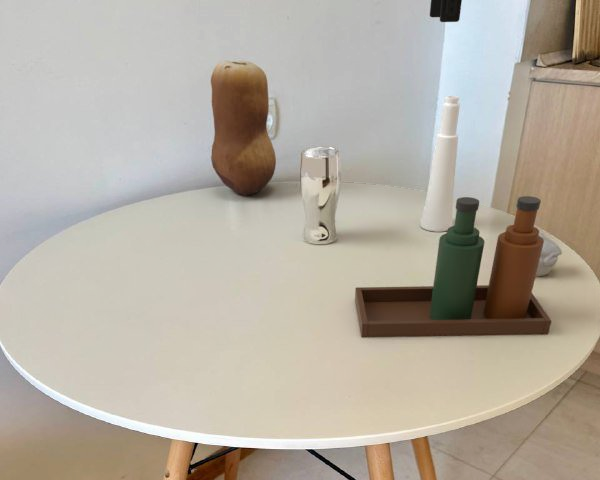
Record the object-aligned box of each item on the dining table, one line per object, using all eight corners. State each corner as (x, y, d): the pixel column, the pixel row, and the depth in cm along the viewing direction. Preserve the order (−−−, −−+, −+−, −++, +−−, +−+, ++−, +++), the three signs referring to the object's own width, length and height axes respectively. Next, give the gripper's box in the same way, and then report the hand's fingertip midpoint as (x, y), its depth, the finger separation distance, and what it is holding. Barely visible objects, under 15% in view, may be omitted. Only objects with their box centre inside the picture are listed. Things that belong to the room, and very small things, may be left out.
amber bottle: (518, 305, 84) (544, 191, 75) (530, 324, 80) (560, 206, 70) (479, 305, 84) (500, 192, 75) (489, 325, 80) (513, 207, 70)
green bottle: (465, 306, 84) (485, 192, 75) (475, 325, 80) (497, 207, 70) (426, 306, 84) (440, 193, 75) (433, 326, 80) (450, 208, 70)
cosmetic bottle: (425, 218, 114) (439, 92, 101) (456, 223, 112) (474, 94, 99) (415, 229, 110) (429, 98, 97) (447, 234, 108) (466, 101, 95)
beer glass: (322, 248, 103) (323, 159, 94) (293, 239, 107) (291, 152, 98) (347, 237, 107) (350, 150, 98) (318, 228, 111) (318, 143, 102)
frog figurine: (508, 265, 97) (517, 224, 92) (554, 270, 95) (565, 227, 91) (508, 281, 92) (518, 238, 88) (556, 286, 90) (568, 242, 86)
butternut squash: (289, 190, 130) (286, 59, 115) (247, 206, 121) (238, 68, 106) (243, 178, 137) (234, 54, 122) (201, 193, 129) (186, 62, 113)
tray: (522, 301, 87) (526, 284, 85) (546, 339, 78) (552, 320, 76) (354, 304, 87) (355, 287, 85) (361, 342, 78) (362, 323, 77)
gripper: (496, -116, 86) (476, 23, 96) (469, -106, 100) (454, 15, 110) (444, -115, 86) (430, 24, 96) (424, -105, 100) (414, 15, 110)
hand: (443, 19), depth 103 cm, fingers open, 9 cm apart
